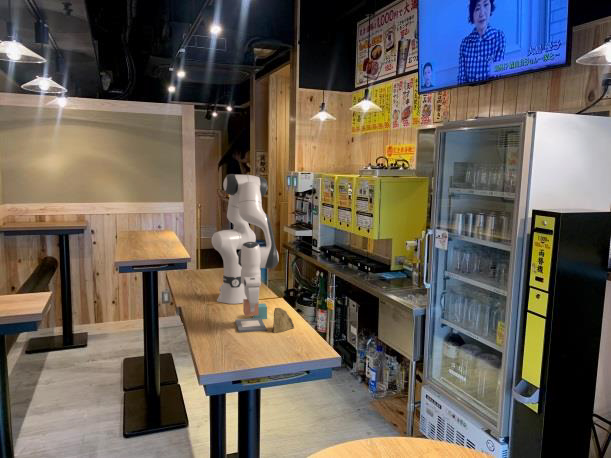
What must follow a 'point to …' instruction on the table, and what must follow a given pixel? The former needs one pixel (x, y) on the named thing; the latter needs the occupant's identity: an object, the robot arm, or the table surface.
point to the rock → (281, 321)
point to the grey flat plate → (250, 325)
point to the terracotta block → (247, 308)
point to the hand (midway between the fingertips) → (251, 309)
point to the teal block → (262, 312)
